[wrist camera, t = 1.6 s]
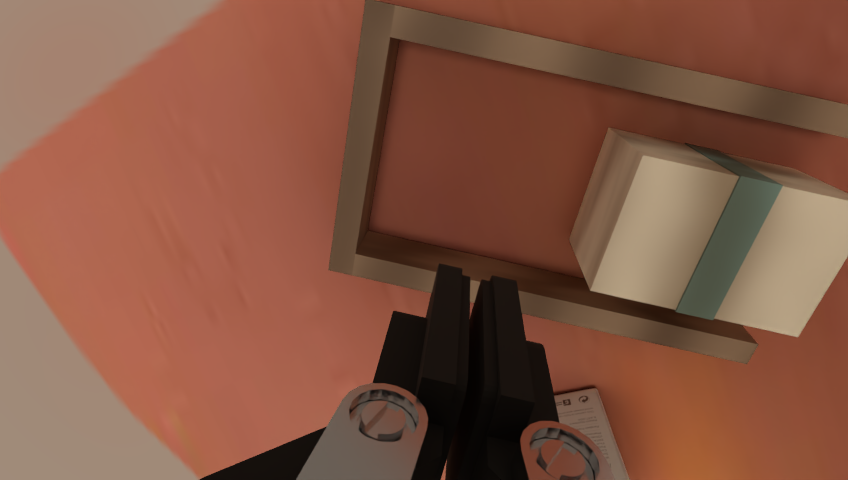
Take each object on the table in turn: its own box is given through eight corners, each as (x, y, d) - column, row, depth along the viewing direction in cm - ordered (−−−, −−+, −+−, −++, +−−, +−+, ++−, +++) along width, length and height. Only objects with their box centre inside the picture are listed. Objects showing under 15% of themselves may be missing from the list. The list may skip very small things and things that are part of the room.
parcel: (794, 167, 24) (880, 207, 19) (736, 277, 26) (798, 339, 21) (608, 125, 24) (644, 154, 19) (568, 240, 26) (590, 292, 21)
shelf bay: (841, 103, 23) (891, 114, 20) (720, 329, 28) (747, 364, 25) (378, 1, 23) (365, -2, 20) (343, 245, 28) (328, 269, 25)
